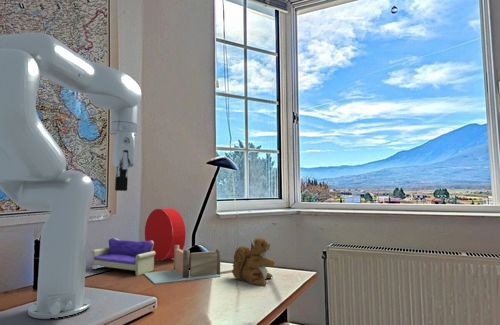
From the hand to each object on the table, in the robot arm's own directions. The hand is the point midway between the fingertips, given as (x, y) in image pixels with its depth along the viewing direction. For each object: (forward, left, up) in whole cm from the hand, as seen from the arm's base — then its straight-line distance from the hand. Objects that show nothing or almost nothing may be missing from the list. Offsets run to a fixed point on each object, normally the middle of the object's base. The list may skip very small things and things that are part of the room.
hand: (121, 190), depth 105 cm
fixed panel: (-3, -25, -27) cm, 37 cm away
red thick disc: (+29, -22, -27) cm, 46 cm away
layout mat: (+1, -20, -27) cm, 34 cm away
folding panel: (+4, -20, -27) cm, 34 cm away
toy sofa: (+17, -4, -28) cm, 32 cm away
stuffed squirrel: (-14, -38, -27) cm, 49 cm away
